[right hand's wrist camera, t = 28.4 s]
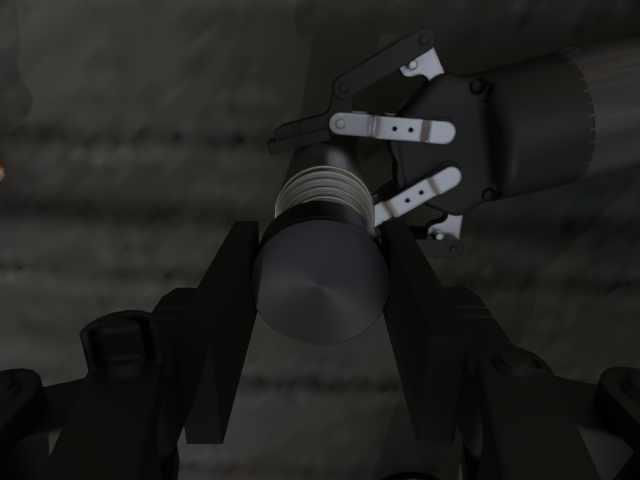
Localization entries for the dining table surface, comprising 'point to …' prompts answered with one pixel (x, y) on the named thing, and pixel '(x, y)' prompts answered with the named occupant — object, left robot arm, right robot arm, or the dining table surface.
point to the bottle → (326, 178)
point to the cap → (320, 274)
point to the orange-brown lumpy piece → (2, 171)
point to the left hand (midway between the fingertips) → (282, 187)
